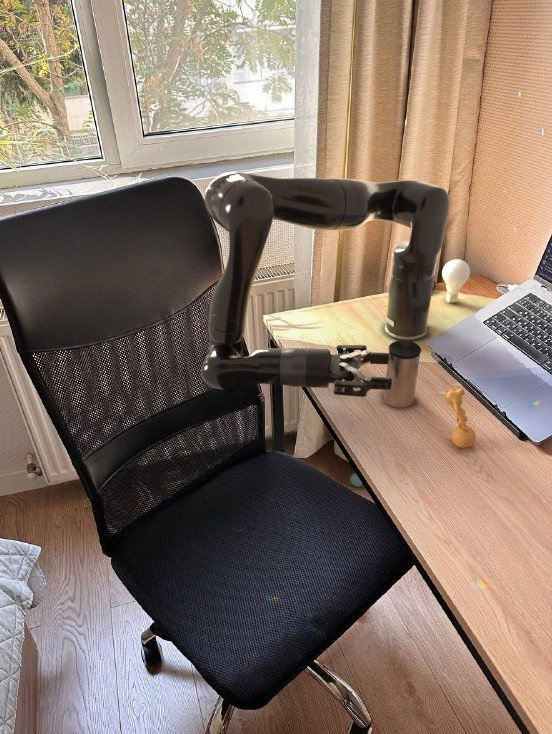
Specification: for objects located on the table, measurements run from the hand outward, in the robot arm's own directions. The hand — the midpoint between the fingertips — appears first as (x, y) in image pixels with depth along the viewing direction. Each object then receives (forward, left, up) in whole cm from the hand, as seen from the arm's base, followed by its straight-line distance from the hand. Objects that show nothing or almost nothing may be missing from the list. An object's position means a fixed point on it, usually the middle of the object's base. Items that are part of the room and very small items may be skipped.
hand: (390, 370), depth 110 cm
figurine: (+13, +11, -7) cm, 18 cm away
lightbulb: (-42, +17, -7) cm, 46 cm away
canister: (0, +2, -7) cm, 7 cm away
